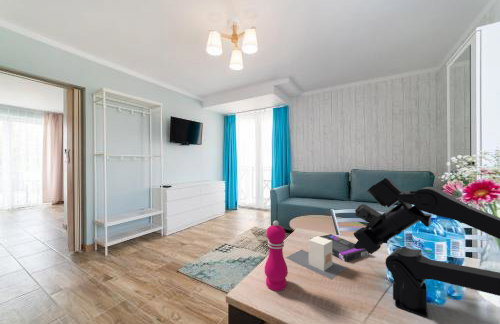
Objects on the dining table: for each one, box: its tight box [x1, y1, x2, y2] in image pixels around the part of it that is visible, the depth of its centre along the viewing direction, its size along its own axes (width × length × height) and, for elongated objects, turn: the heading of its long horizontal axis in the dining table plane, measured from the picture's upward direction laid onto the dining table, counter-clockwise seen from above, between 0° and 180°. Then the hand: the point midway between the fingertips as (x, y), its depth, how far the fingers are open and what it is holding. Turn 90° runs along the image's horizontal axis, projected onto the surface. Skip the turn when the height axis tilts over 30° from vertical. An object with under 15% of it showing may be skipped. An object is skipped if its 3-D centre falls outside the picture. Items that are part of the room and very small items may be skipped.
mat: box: [285, 249, 347, 280], centre depth 74 cm, size 19×11×1 cm, turn 40°
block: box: [308, 235, 333, 271], centre depth 72 cm, size 6×6×9 cm
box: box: [309, 233, 370, 263], centre depth 86 cm, size 14×4×20 cm
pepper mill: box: [264, 220, 289, 292], centre depth 61 cm, size 7×7×20 cm
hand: (355, 247), depth 63 cm, fingers closed
